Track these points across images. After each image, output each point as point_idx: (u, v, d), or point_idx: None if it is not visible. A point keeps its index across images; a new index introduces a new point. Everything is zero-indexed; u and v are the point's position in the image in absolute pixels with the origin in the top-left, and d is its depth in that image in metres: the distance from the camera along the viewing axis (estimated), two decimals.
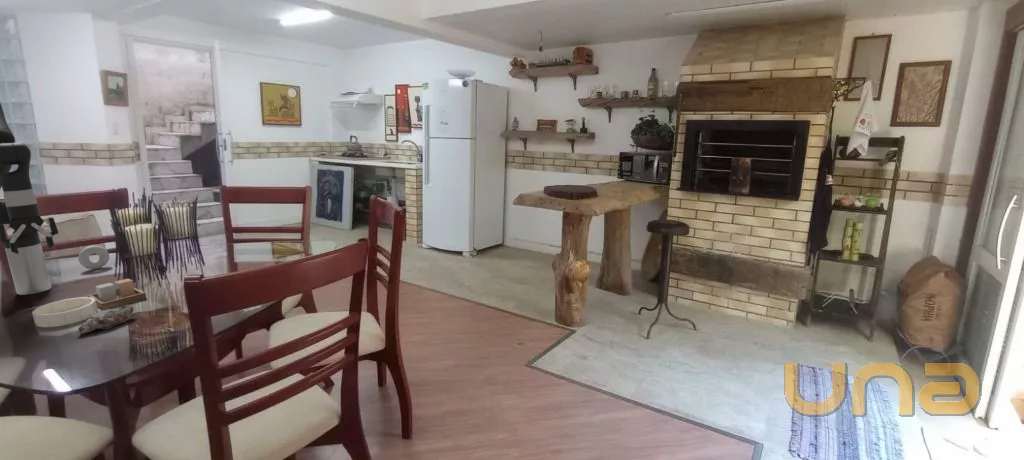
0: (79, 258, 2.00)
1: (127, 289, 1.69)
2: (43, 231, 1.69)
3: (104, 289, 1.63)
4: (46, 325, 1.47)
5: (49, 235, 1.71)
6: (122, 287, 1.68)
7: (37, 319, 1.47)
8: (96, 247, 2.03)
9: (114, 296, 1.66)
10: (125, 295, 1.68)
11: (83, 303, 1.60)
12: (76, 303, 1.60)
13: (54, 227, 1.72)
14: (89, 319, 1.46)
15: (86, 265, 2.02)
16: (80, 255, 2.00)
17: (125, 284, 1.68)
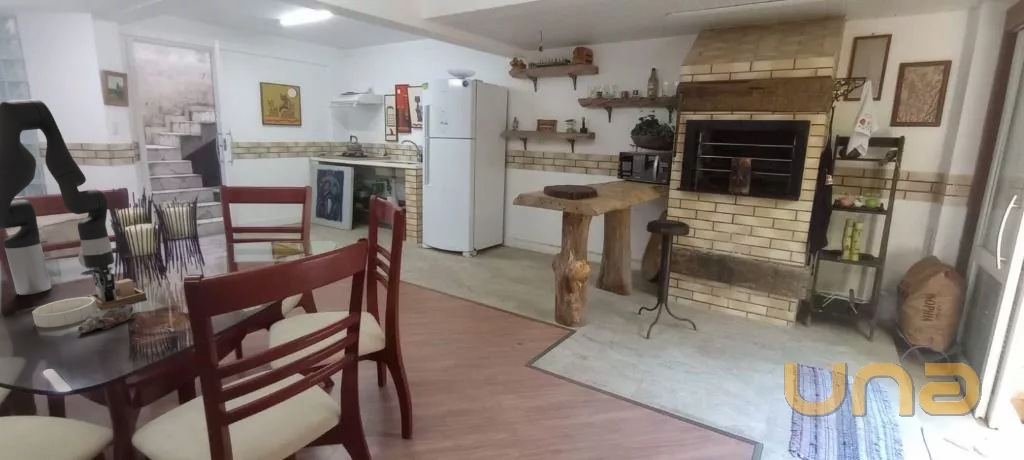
0: (79, 258, 2.00)
1: (127, 289, 1.69)
2: None
3: None
4: (46, 325, 1.47)
5: None
6: (122, 287, 1.68)
7: (37, 319, 1.47)
8: None
9: (114, 296, 1.66)
10: (125, 295, 1.68)
11: (83, 303, 1.60)
12: (76, 303, 1.60)
13: None
14: (89, 319, 1.46)
15: None
16: (80, 255, 2.00)
17: (125, 284, 1.68)
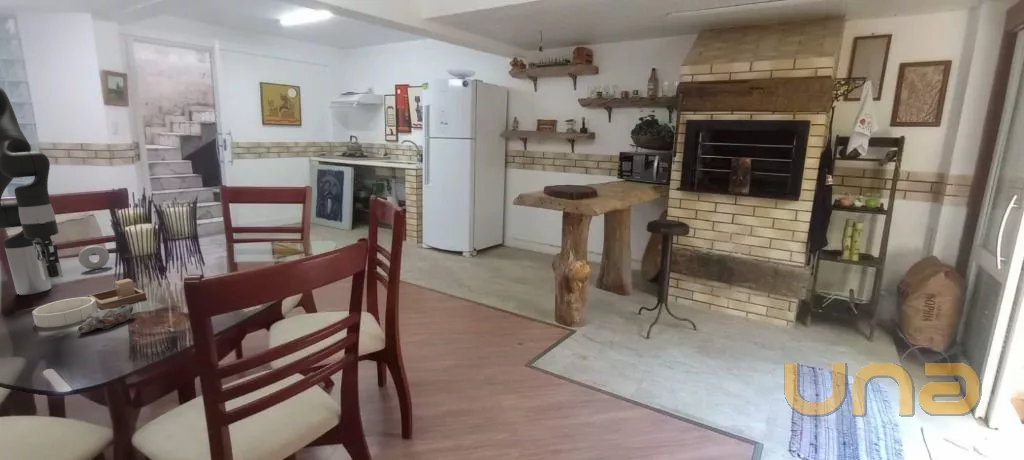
0: (79, 258, 2.00)
1: (127, 289, 1.69)
2: None
3: None
4: (46, 325, 1.47)
5: None
6: (122, 287, 1.68)
7: (37, 319, 1.47)
8: (96, 247, 2.03)
9: (59, 271, 1.50)
10: (125, 295, 1.68)
11: (83, 303, 1.60)
12: (76, 303, 1.60)
13: None
14: (89, 318, 1.46)
15: (86, 265, 2.02)
16: (80, 255, 2.00)
17: (125, 284, 1.68)
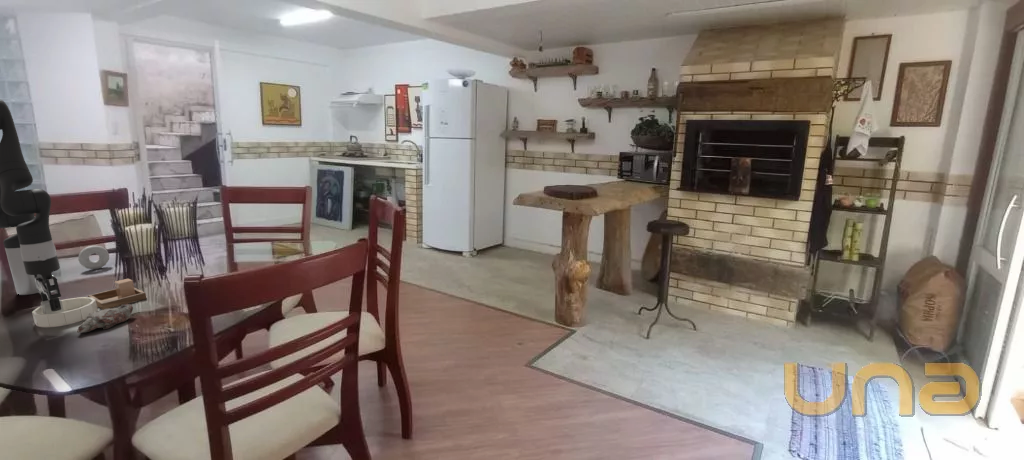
0: (79, 258, 2.00)
1: (127, 289, 1.69)
2: None
3: (49, 305, 1.49)
4: (46, 325, 1.47)
5: None
6: (122, 287, 1.68)
7: (37, 319, 1.47)
8: (96, 247, 2.03)
9: None
10: (125, 295, 1.68)
11: (83, 303, 1.60)
12: (76, 303, 1.60)
13: None
14: (89, 318, 1.46)
15: (86, 265, 2.02)
16: (80, 255, 2.00)
17: (125, 284, 1.68)
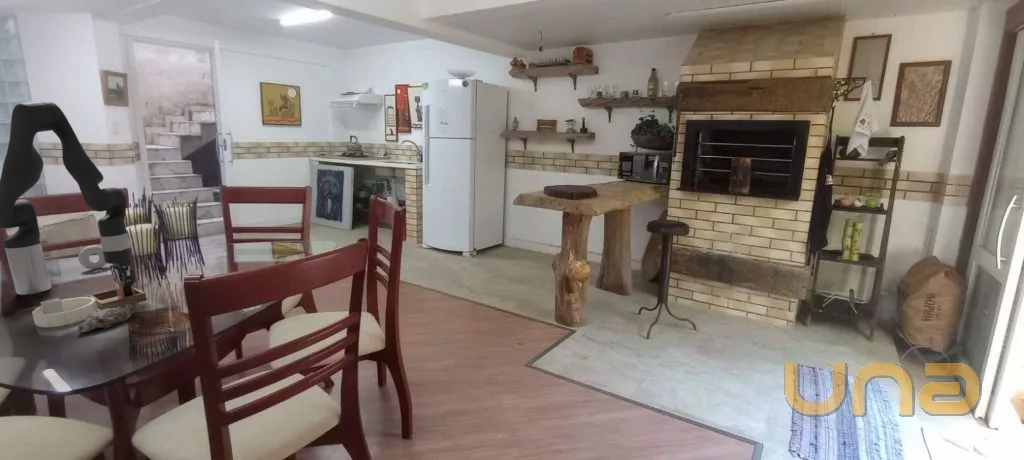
0: (79, 258, 2.00)
1: None
2: None
3: (49, 305, 1.49)
4: (46, 325, 1.47)
5: None
6: (122, 287, 1.68)
7: (37, 319, 1.47)
8: (96, 247, 2.03)
9: None
10: None
11: (83, 303, 1.60)
12: (76, 303, 1.60)
13: None
14: (89, 318, 1.46)
15: (86, 265, 2.02)
16: (80, 255, 2.00)
17: None
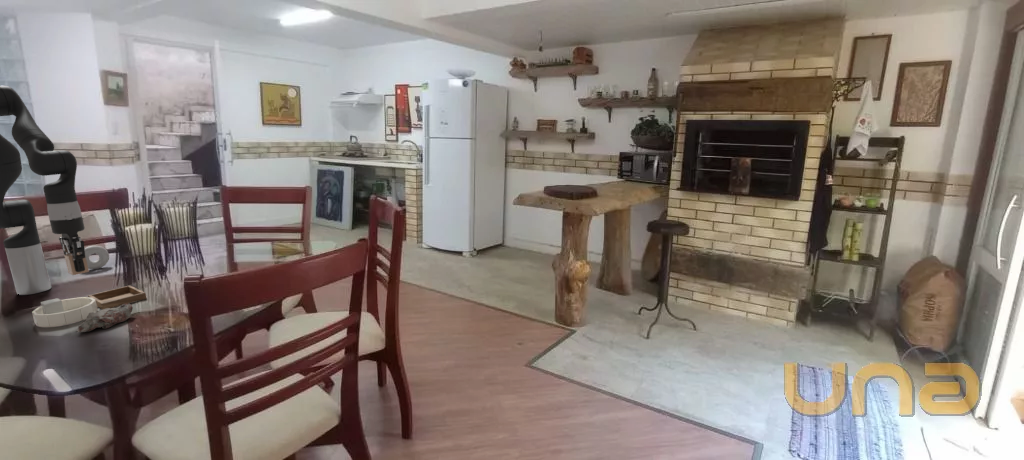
0: None
1: None
2: None
3: (49, 305, 1.49)
4: (46, 325, 1.47)
5: None
6: None
7: (37, 319, 1.47)
8: (96, 247, 2.03)
9: None
10: None
11: (83, 303, 1.60)
12: (76, 303, 1.60)
13: None
14: (89, 318, 1.46)
15: None
16: None
17: None
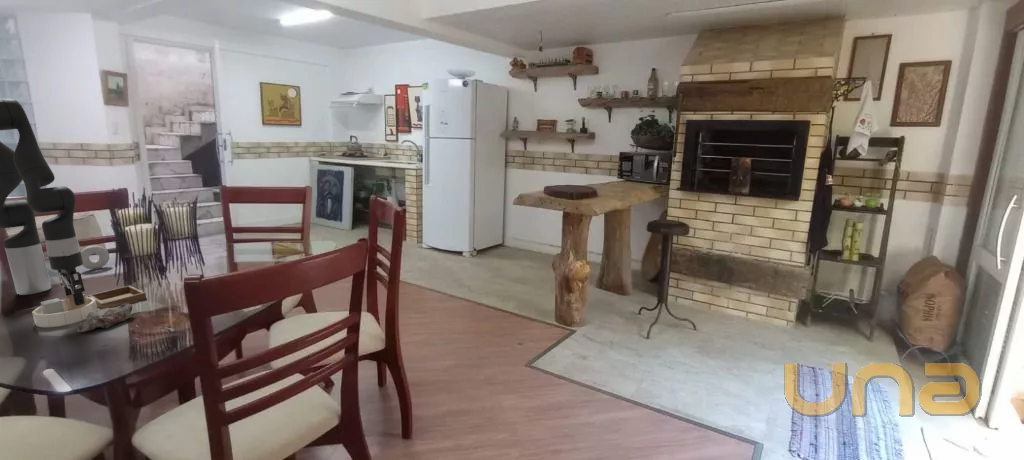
0: None
1: None
2: None
3: (49, 305, 1.49)
4: (46, 325, 1.47)
5: None
6: (73, 303, 1.54)
7: (37, 319, 1.47)
8: (96, 247, 2.03)
9: None
10: None
11: None
12: None
13: None
14: (88, 318, 1.46)
15: (86, 265, 2.02)
16: None
17: None
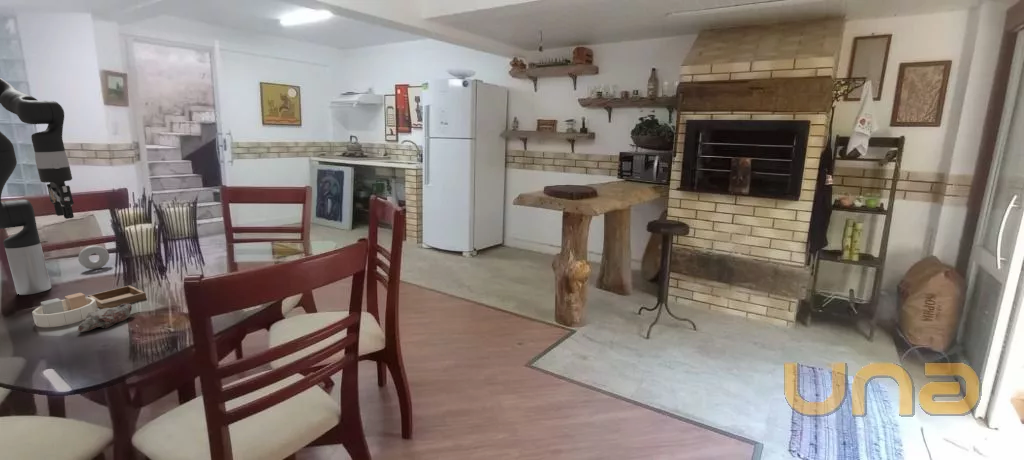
0: (79, 258, 2.00)
1: (78, 304, 1.55)
2: None
3: (49, 305, 1.49)
4: (46, 325, 1.47)
5: None
6: (73, 303, 1.54)
7: (37, 319, 1.47)
8: (96, 247, 2.03)
9: None
10: None
11: None
12: None
13: None
14: (88, 318, 1.47)
15: (86, 265, 2.02)
16: (80, 255, 2.00)
17: (76, 299, 1.54)
